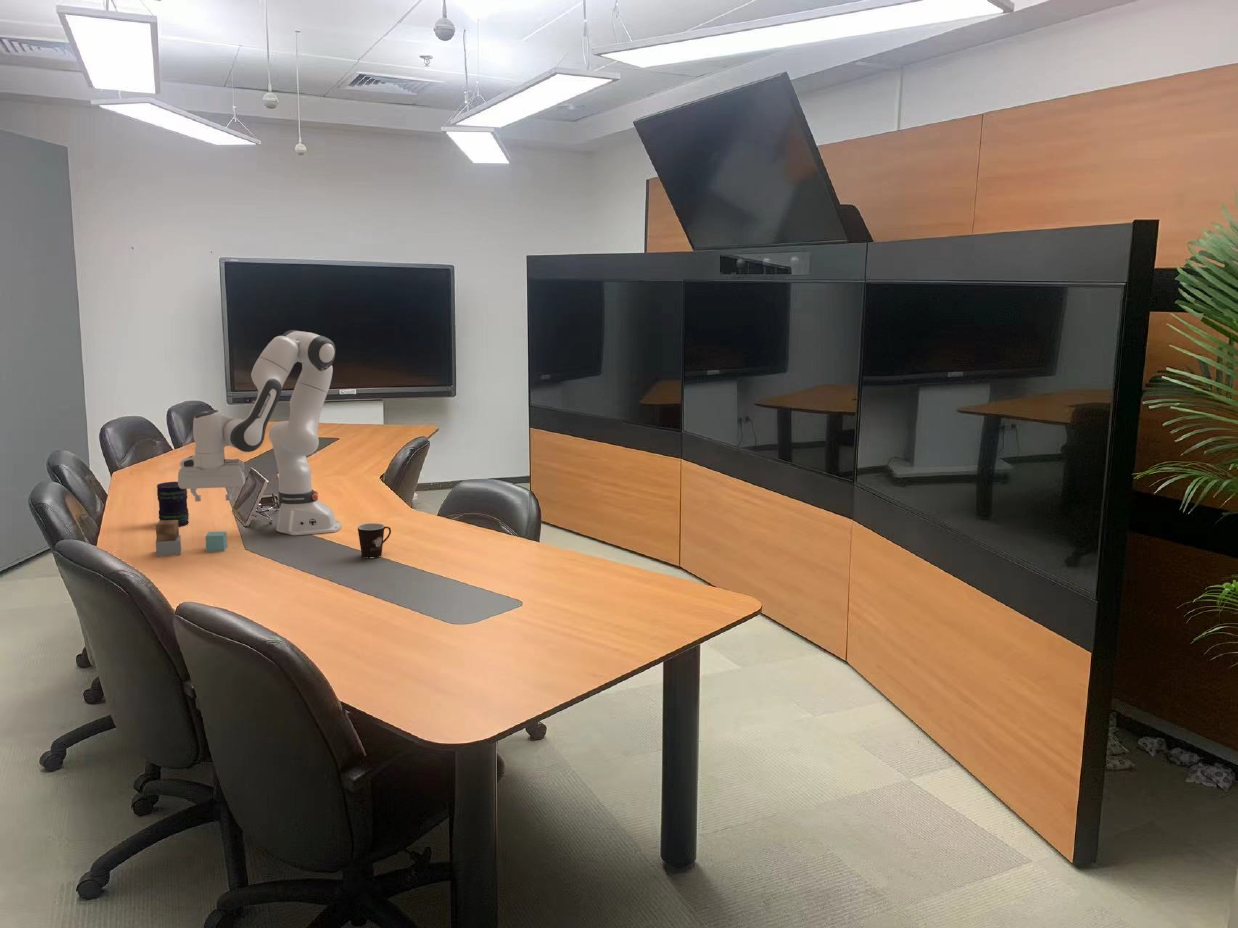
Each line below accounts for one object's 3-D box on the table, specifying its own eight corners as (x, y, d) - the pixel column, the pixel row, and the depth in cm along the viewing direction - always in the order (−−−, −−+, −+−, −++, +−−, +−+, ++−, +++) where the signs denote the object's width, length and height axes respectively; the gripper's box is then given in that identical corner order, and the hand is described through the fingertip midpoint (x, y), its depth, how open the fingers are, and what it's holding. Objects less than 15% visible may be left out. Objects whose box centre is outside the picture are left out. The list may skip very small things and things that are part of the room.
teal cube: (227, 546, 305) (226, 531, 304) (224, 551, 299) (223, 535, 298) (209, 547, 303) (208, 531, 302) (206, 552, 298) (205, 536, 297)
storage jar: (153, 525, 327) (150, 485, 324) (174, 519, 336) (171, 480, 333) (174, 529, 324) (171, 488, 321) (195, 522, 333) (192, 483, 330)
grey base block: (181, 549, 301) (180, 535, 300) (180, 555, 294) (179, 540, 293) (157, 551, 298) (156, 536, 297) (156, 557, 291) (155, 542, 290)
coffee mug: (361, 560, 293) (360, 531, 292) (355, 553, 301) (355, 524, 299) (397, 556, 299) (396, 527, 297) (390, 549, 306) (390, 521, 304)
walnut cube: (179, 536, 298) (178, 519, 297) (175, 540, 293) (174, 524, 292) (161, 536, 297) (159, 520, 296) (156, 541, 292) (155, 524, 291)
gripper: (245, 456, 301) (248, 497, 304) (179, 458, 296) (183, 499, 299) (242, 460, 295) (245, 501, 298) (174, 462, 290) (178, 504, 293)
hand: (213, 500), depth 298 cm, fingers open, 8 cm apart
